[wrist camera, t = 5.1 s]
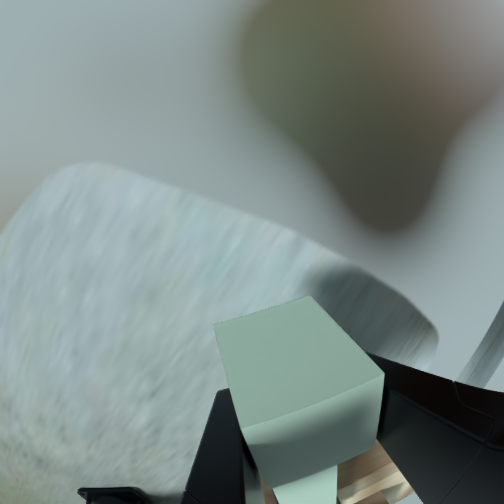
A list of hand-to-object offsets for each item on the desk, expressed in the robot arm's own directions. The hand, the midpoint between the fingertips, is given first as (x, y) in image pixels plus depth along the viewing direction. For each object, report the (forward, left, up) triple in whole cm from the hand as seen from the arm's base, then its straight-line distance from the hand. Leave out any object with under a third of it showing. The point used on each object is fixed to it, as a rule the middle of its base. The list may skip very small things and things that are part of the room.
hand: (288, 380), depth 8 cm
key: (0, -9, -2) cm, 9 cm away
